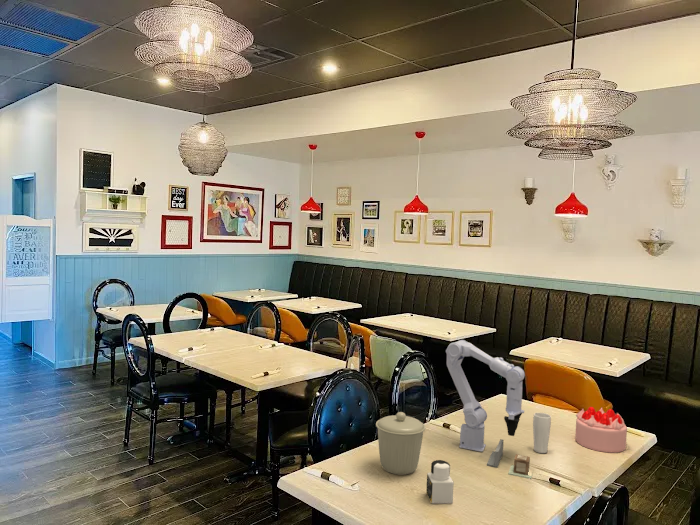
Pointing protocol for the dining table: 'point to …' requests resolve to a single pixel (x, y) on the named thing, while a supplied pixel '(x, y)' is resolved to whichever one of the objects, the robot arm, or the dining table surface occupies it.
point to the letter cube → (521, 464)
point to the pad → (511, 471)
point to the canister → (399, 443)
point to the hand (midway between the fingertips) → (512, 432)
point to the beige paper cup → (541, 431)
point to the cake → (601, 430)
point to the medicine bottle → (440, 483)
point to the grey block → (496, 455)
